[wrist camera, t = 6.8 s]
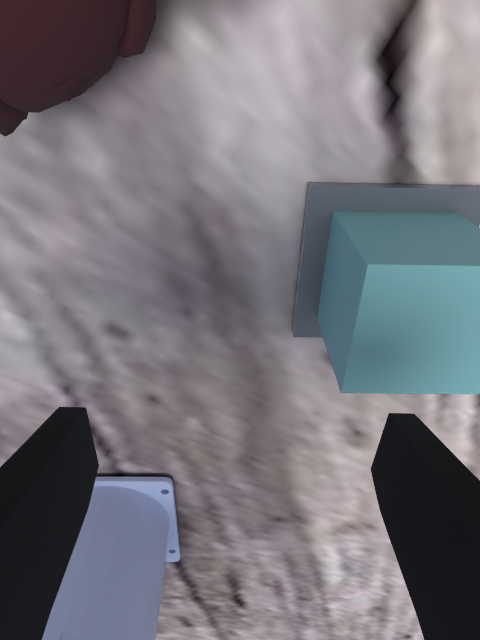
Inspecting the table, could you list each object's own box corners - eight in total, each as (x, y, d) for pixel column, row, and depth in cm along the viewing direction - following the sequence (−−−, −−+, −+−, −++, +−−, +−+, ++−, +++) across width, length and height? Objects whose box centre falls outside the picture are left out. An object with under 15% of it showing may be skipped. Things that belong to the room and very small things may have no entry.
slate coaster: (434, 331, 20) (439, 338, 19) (291, 329, 20) (293, 337, 19) (483, 185, 16) (491, 189, 16) (308, 182, 16) (310, 186, 15)
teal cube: (424, 319, 19) (479, 394, 15) (317, 318, 19) (341, 392, 14) (458, 213, 16) (537, 267, 12) (332, 210, 16) (367, 264, 12)
